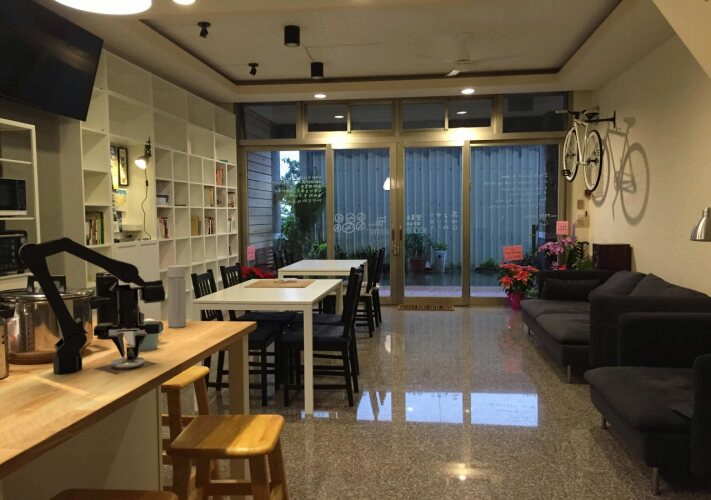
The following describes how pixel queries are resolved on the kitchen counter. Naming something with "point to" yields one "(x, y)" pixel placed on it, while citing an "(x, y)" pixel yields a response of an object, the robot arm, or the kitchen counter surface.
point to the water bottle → (176, 296)
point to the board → (118, 371)
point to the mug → (129, 334)
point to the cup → (147, 340)
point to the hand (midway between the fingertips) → (130, 357)
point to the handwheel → (128, 360)
